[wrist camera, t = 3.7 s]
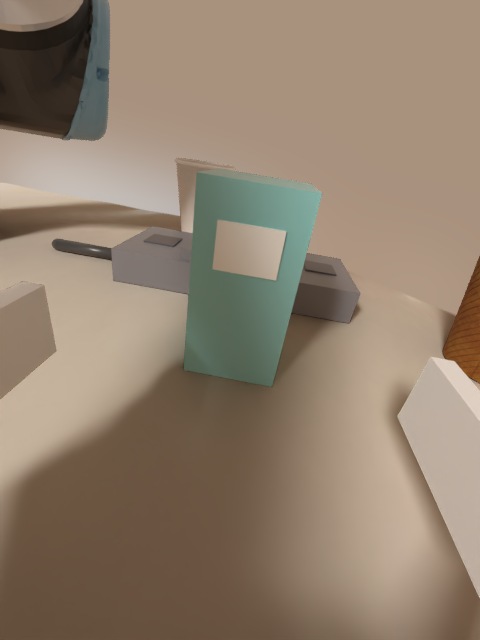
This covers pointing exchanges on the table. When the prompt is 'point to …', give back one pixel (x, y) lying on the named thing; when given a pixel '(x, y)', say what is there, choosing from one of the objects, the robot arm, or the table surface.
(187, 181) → the dixie cup
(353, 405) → the table surface
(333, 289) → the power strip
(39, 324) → the robot arm
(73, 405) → the table surface
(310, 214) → the teal tall block
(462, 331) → the disposable coffee cup
